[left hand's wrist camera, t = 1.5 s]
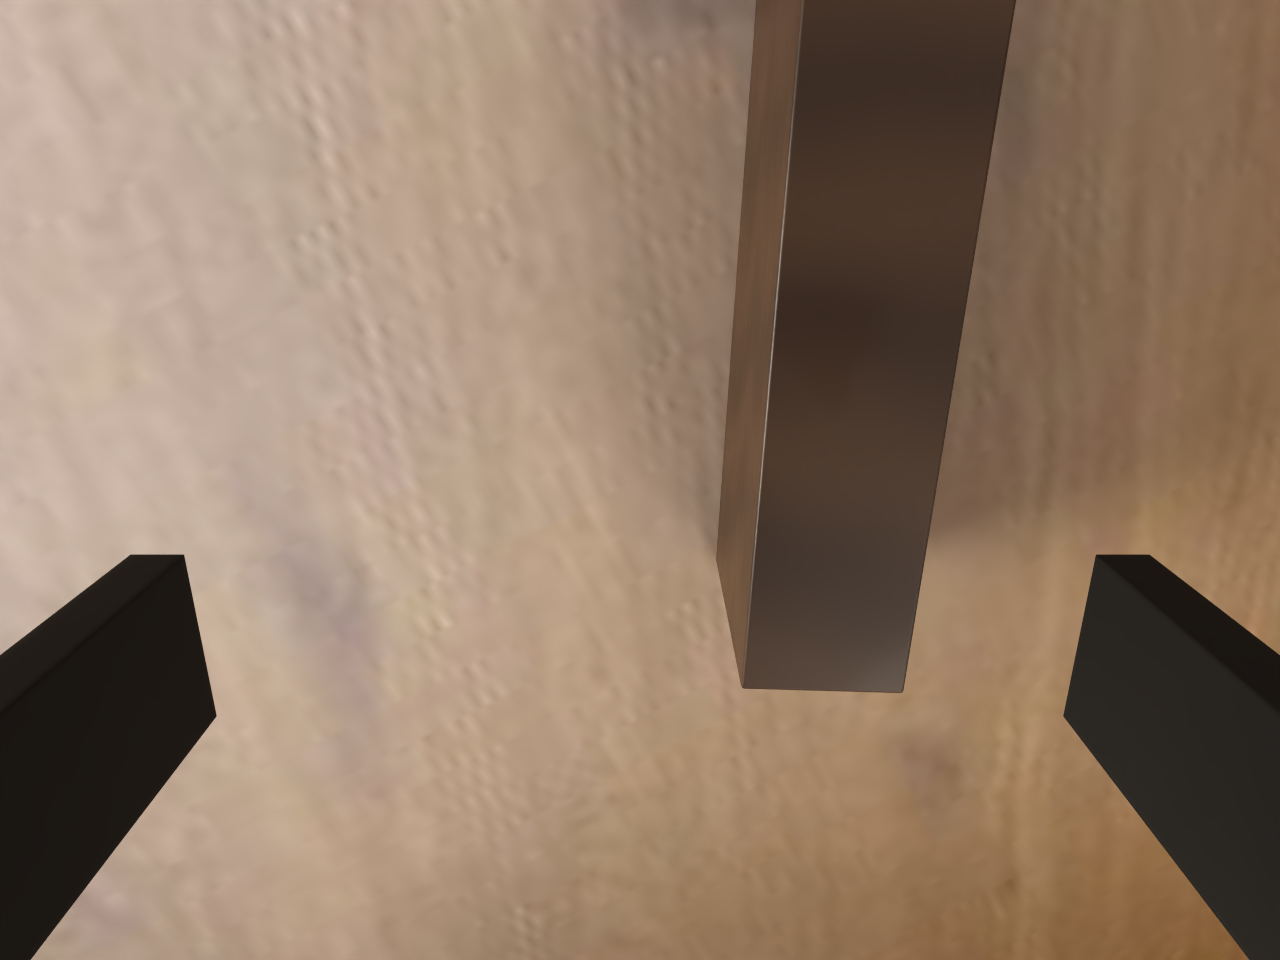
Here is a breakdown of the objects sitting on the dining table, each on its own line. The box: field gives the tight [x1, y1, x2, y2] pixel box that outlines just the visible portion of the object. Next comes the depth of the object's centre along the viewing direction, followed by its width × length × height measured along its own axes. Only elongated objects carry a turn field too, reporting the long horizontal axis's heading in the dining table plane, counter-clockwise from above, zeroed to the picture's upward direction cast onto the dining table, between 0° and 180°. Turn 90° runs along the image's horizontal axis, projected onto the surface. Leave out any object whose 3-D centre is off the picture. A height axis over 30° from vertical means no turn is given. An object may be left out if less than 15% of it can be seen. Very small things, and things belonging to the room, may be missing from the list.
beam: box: [716, 0, 1016, 693], centre depth 22 cm, size 28×4×8 cm, turn 178°
